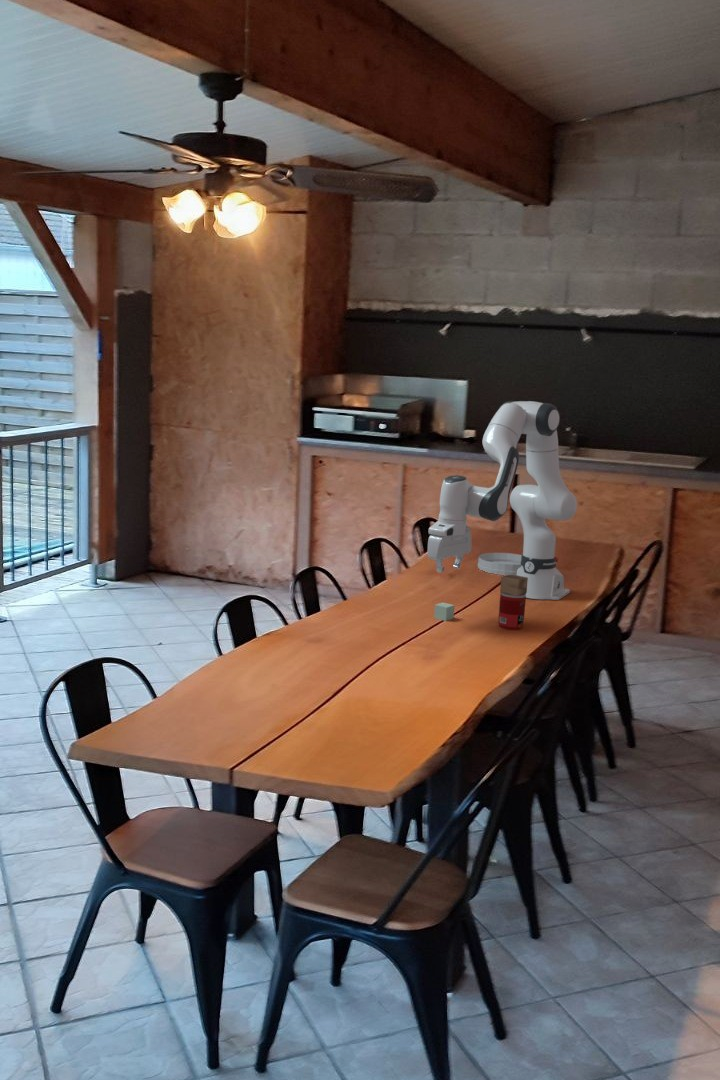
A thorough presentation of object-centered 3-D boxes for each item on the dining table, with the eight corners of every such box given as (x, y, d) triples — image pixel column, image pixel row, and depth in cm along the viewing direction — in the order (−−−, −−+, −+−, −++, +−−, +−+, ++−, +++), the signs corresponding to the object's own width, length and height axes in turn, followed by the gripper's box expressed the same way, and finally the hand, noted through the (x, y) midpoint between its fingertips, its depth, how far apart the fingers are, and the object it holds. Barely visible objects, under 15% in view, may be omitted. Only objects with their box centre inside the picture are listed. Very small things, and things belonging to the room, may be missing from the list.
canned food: (522, 631, 331) (525, 596, 329) (496, 628, 333) (499, 594, 331) (523, 624, 339) (526, 591, 337) (498, 622, 340) (501, 588, 338)
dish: (475, 574, 410) (476, 561, 409) (478, 562, 431) (479, 550, 430) (533, 579, 406) (534, 566, 405) (534, 567, 428) (535, 555, 427)
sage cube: (441, 615, 345) (442, 602, 344) (453, 618, 342) (454, 605, 341) (434, 618, 341) (434, 604, 340) (445, 621, 339) (446, 607, 338)
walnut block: (510, 589, 338) (511, 574, 337) (526, 593, 334) (527, 577, 333) (500, 592, 333) (501, 577, 332) (516, 596, 330) (518, 580, 329)
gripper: (461, 522, 346) (458, 564, 348) (425, 528, 330) (422, 572, 332) (477, 525, 342) (474, 567, 344) (442, 532, 326) (439, 576, 329)
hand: (448, 570), depth 338 cm, fingers open, 8 cm apart
